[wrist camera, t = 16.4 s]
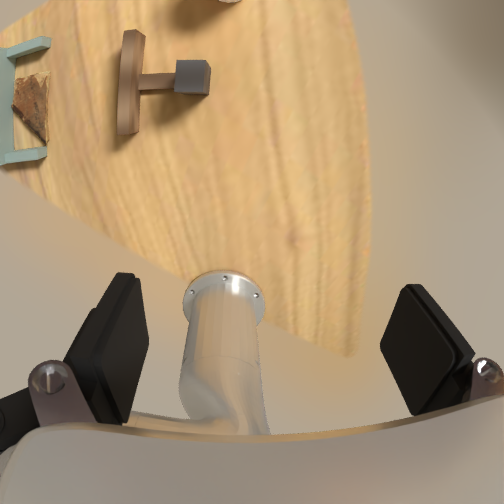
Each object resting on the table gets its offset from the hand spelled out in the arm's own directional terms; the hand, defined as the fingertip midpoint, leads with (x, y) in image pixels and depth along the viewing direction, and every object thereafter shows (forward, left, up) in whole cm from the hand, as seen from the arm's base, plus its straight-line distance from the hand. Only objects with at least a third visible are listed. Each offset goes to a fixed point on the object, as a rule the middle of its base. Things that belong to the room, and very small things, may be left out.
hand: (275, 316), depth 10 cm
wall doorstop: (+10, +10, -30) cm, 34 cm away
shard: (+10, +30, -31) cm, 44 cm away
